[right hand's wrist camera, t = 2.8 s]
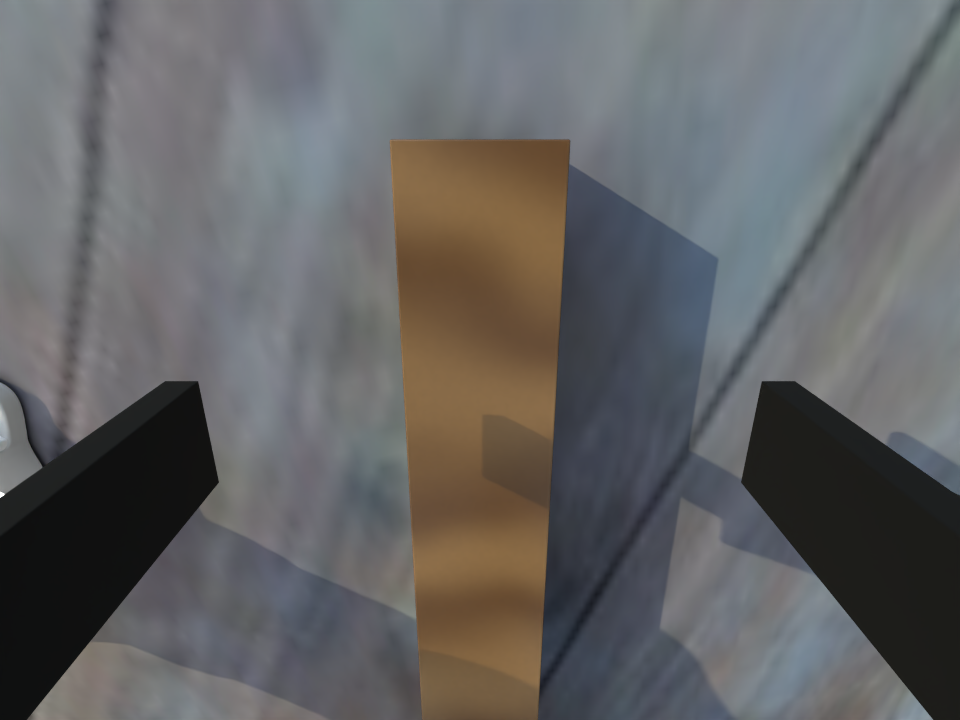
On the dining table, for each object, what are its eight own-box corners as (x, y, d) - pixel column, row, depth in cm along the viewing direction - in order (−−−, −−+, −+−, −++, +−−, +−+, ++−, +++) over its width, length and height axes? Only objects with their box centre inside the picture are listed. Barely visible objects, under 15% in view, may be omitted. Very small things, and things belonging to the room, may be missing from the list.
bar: (417, 145, 24) (389, 139, 16) (542, 145, 24) (570, 139, 16) (445, 859, 43) (438, 1006, 35) (514, 859, 43) (521, 1006, 35)
